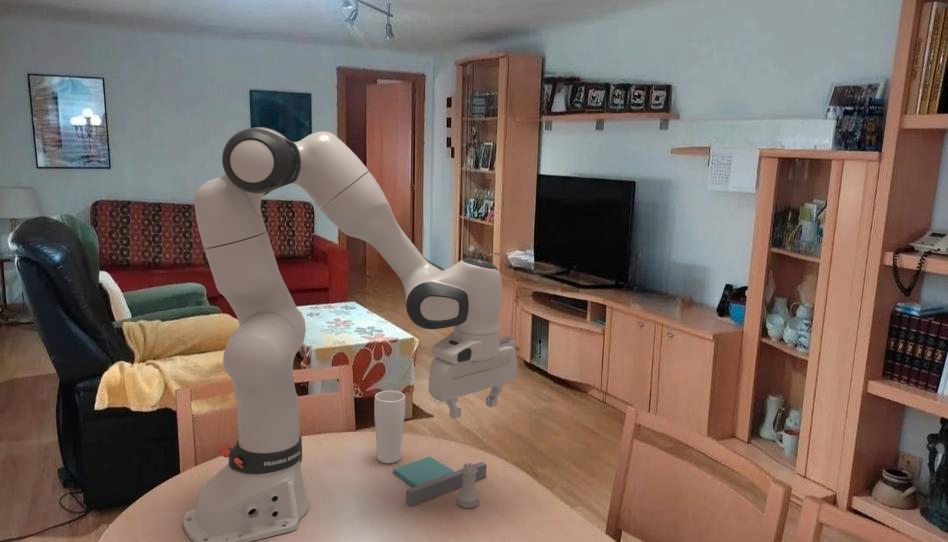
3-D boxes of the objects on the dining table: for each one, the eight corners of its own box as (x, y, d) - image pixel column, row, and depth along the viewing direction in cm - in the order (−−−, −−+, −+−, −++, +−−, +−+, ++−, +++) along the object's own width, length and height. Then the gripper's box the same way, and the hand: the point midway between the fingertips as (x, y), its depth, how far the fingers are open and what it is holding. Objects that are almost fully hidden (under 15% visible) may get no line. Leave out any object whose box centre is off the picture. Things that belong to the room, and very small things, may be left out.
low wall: (410, 506, 136) (410, 492, 136) (405, 503, 137) (406, 489, 137) (485, 477, 149) (486, 464, 149) (481, 474, 150) (481, 461, 150)
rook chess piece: (476, 510, 136) (478, 472, 134) (454, 507, 137) (456, 469, 135) (481, 499, 140) (483, 462, 139) (459, 496, 141) (461, 459, 140)
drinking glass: (371, 453, 158) (372, 391, 155) (400, 450, 160) (402, 389, 157) (376, 467, 151) (377, 402, 148) (406, 464, 153) (408, 400, 150)
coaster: (420, 492, 142) (420, 487, 142) (392, 473, 149) (392, 468, 149) (458, 478, 148) (458, 473, 148) (429, 460, 156) (429, 456, 156)
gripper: (503, 330, 141) (500, 394, 144) (424, 348, 128) (422, 418, 131) (526, 338, 137) (522, 404, 139) (446, 357, 123) (444, 430, 126)
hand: (473, 411), depth 135 cm, fingers open, 8 cm apart
